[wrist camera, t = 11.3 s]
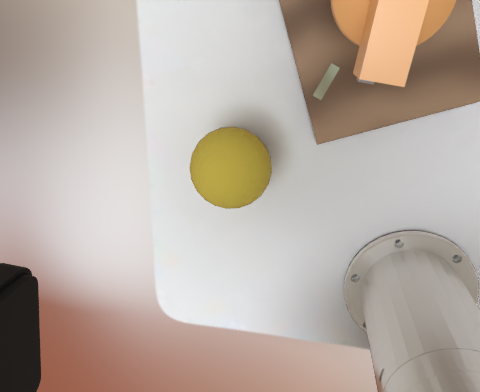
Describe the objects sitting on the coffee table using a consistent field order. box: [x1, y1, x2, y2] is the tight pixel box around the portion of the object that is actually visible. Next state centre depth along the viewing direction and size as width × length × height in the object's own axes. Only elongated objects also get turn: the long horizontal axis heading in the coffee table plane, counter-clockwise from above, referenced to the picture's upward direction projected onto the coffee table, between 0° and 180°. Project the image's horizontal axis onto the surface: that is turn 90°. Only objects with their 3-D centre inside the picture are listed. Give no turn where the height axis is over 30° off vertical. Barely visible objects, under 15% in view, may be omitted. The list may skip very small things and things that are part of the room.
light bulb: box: [190, 127, 271, 209], centre depth 38 cm, size 7×7×10 cm
